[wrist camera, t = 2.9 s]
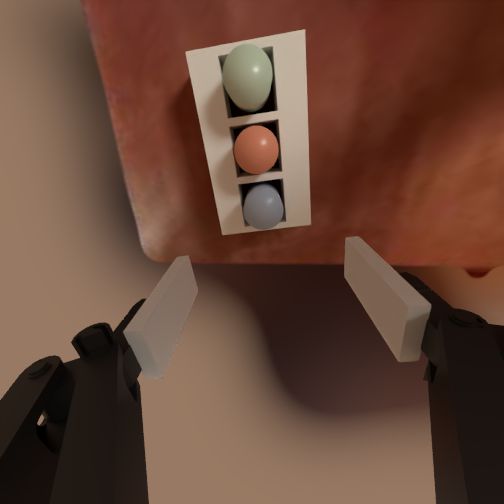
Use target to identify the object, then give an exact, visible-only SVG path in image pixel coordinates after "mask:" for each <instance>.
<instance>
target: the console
mask: <svg viewBox="0 0 504 504" xmlns="http://www.w3.org/2000/svg"><path fill="white" fill-rule="evenodd" d="M242 44H253V45H256V46H258V47H260V48H261V49H262V50H263V51H264V52H265V53H266V54H267V56H268V58H269V60H270V62H271V66H272V74H273V76H272V84H273V96H274V109H275V111H272V112H266V113H260V114H254V115H247V116H241V117H235V118H232V116H231V110H230V103H229V96H228V93H227V91H226V89H225V86H224V82H223V66H224V63H225V60H226V58H227V56H228V54H229V53H230V52H231V51H232V50H233V49H234V48H235V47H237V46H239V45H242ZM186 57H187V62H188V67H189V72H190V77H191V82H192V87H193V92H194V97H195V102H196V107H197V112H198V117H199V122H200V127H201V132H202V136H203V141H204V146H205V151H206V156H207V161H208V166H209V171H210V176H211V181H212V186H213V191H214V196H215V201H216V206H217V211H218V216H219V221H220V226H221V231H222V235H228V234H237V233H245V232H254V231H262V230H259V229H256V228H254V227H252V226H251V225H249V224H248V222H247V221H246V219H245V217H244V212H243V209H244V204H245V203H244V196H243V190H242V184H245V183H252V182H260V181H267V180H274V179H280V182H281V194H282V204H283V216H282V219H281V220H280V222H279V223H278V224H277V225H276V226H274V227H273V228H271V229H279V228H288V227H296V226H304V225H311V208H310V176H309V143H308V111H307V78H306V46H305V29H304V30H299V31H294V32H288V33H283V34H278V35H272V36H267V37H262V38H256V39H251V40H246V41H240V42H235V43H230V44H224V45H219V46H214V47H208V48H203V49H197V50H192V51H187V52H186ZM275 122H276V133H277V142H278V147H279V152H278V157H279V168H272V169H269V170H268V171H266V172H264V173H261V174H251V173H248V172H244V173H240V170H239V164H238V163H237V161H236V158H235V154H234V146H235V136H234V130H233V129H237V128H243V127H250V126H256V125H262V124H269V123H275ZM271 229H267V230H271Z"/></svg>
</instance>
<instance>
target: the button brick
mask: <svg viewBox="0 0 504 504" xmlns="http://www.w3.org/2000/svg"><path fill="white" fill-rule="evenodd" d="M278 152H279V147H278V142H277V139H276V137H275V136H274V134H273V133H272V132H271V131H270V130H269V129H267V128H265V127H263V126H251V127H248V128H246V129H244V130H243V131H242V132H241V133H240V134H239V136H238V137H237V139H236V142H235V146H234V154H235V158H236V161H237V163H238V164H239V166H240V167H241V168H242V169H243V170H245V171H246V172H248V173H251V174H261V173H264V172H266V171H268V170H269V169H270V168H272V166H273V165H274V164H275V162H276V160H277V157H278Z"/></svg>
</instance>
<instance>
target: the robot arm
mask: <svg viewBox="0 0 504 504" xmlns="http://www.w3.org/2000/svg"><path fill="white" fill-rule="evenodd" d="M344 269H345V270H344V277H345V278H346V280H347V281H348V283H349V284H350V286H351V288H352V289H353V291H354V292H355V294H356V296H357V297H358V299H359V300H360V302H361V303H362V305H363V306H364V308H365V310H366V311H367V313H368V314H369V316H370V318H371V319H372V321H373V322H374V324H375V325H376V327H377V329H378V330H379V332H380V333H381V335H382V336H383V338H384V340H385V341H386V343H387V344H388V346H389V347H390V349H391V351H392V352H393V354H394V355H395V357H396V358H397V360H398V362H406V361H419V358H420V353H421V350H422V351H423V352H424V353H425V355H426V356H427V357H428V358H429V360H428V364H427V367H426V372H425V376H424V380H426V381H427V379H428V392H429V406H430V421H431V435H432V449H433V464H434V478H435V493H436V504H504V326H501V325H493V324H488V323H487V322H486V320H484V319H483V318H482V317H480V316H479V315H476V314H474V313H472V312H469V311H466V310H462V309H454V308H453V307H451V306H450V305H449V304H448V303H447V302H446V301H444V300H443V299H442V298H441V297H440V296H438V295H437V294H436V293H435V292H434V291H433V290H432V291H431V289H430V288H429V287H428V286H427V285H425V284H424V283H423V282H422V281H421V280H419V278H417V277H416V276H413V275H411V274H409V273H407V272H403V273H397V272H396V271H395V270H394V269H393V268H392V267H391V266H390V265H389V264H388V263H386V262H385V261H384V260H383V259H382V258H381V257H380V256H379V255H378V254H377V253H376V252H375V251H374V250H373V249H372V248H371V247H369V246H368V245H367V244H366V243H365V242H364V241H363V240H362V239H361V238H360V237H359V236H355V237H347V238H346V239H345V268H344ZM197 293H198V287H197V284H196V280H195V277H194V273H193V269H192V266H191V262H190V259H189V255H187V256H179V257H177V258H176V259H175V260H174V262H173V263H172V264H171V266H170V267H169V269H168V270H167V271H166V273H165V274H164V276H163V277H162V278H161V280H160V281H159V283H158V284H157V285H156V287H155V288H154V290H153V291H152V292H151V294H150V295H149V296H148V298H147V299H141V300H140V301H139V302H138V303H136V304H135V305H134V306H133V307H132V308H131V310H130V311H129V312H128V314H127V315H126V316H125V317H124V320H122V321H121V323H120V324H119V325H118V326H117V328H116V329H115V330H114V332H113V331H112V329H111V327H110V325H109V324H107V323H97V324H94V325H91V326H89V327H87V328H85V329H84V330H82V331H81V332H79V333H78V334H77V335H76V336H75V337H74V338H73V340H72V342H71V343H72V345H73V346H74V348H75V350H76V351H77V353H78V354H79V356H80V358H78V359H75V360H72V361H69V362H66V363H63V362H62V360H61V359H60V357H58V356H55V355H54V356H48V357H45V358H43V359H40V360H38V361H36V362H34V363H33V364H32V365H31V366H29V367H28V368H26V369H25V370H24V371H23V372H22V373H21V374H20V375H19V377H18V378H17V379H16V381H15V382H14V383H13V384H12V386H11V387H10V388H9V390H8V391H7V392H6V394H5V395H4V396H3V398H2V399H1V400H0V504H149V500H148V486H147V473H146V462H145V461H146V460H145V447H144V433H143V421H142V408H141V393H140V385H139V382H138V380H137V378H138V376H139V374H140V372H141V370H142V372H143V375H144V377H145V379H159V378H163V376H164V374H165V371H166V369H167V366H168V364H169V362H170V359H171V357H172V354H173V352H174V349H175V347H176V344H177V342H178V340H179V337H180V334H181V332H182V330H183V327H184V325H185V322H186V320H187V317H188V315H189V313H190V310H191V308H192V305H193V303H194V301H195V298H196V296H197ZM41 414H42V415H43V416H44V420H43V422H42V423H41V424H40V426H39V425H38V424H37V422H38V420H39V418H40V416H41Z"/></svg>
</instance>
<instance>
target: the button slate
mask: <svg viewBox="0 0 504 504" xmlns="http://www.w3.org/2000/svg"><path fill="white" fill-rule="evenodd" d="M243 212H244V217H245V219H246V221H247V222H248V224H249V225H251V226H252V227H254V228H256V229H259V230H267V229H271V228H273V227H274V226H276V225H277V224H278V223H279V222H280V220H281V219H282V216H283V204H282V201H281V199H280V196H279V193H278V191H277V189H276V188H275V187H274V186H273V185H271V184H269V183H266V182H260V183H257V184H255V185H253V186H252V187H251V188H250V189H249V191H248V192H247V195H246V200H245V204H244V209H243Z"/></svg>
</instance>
